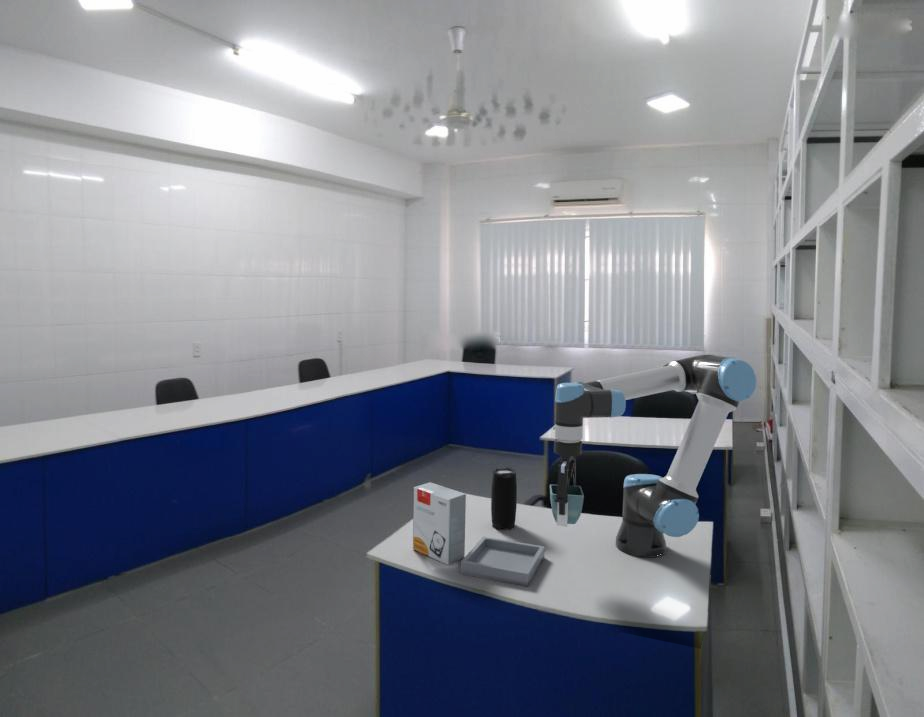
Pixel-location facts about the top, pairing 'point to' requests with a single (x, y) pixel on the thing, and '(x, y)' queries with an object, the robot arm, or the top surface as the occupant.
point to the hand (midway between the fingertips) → (565, 519)
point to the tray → (503, 560)
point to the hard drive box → (439, 522)
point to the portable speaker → (503, 498)
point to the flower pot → (569, 502)
